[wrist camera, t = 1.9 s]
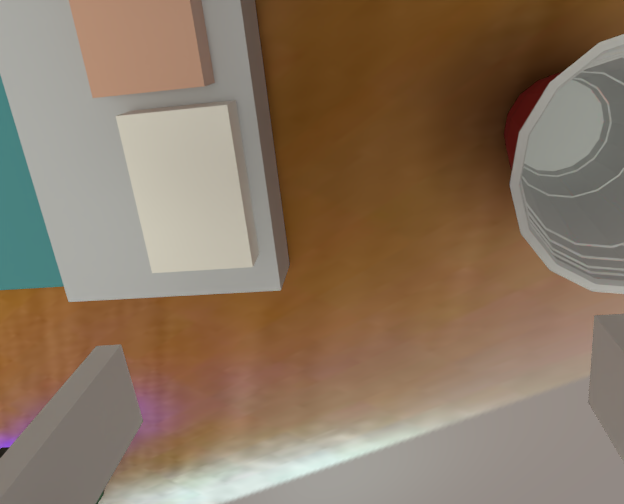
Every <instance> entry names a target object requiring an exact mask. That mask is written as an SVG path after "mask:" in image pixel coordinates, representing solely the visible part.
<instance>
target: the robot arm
mask: <svg viewBox="0 0 624 504" xmlns="http://www.w3.org/2000/svg"><path fill="white" fill-rule="evenodd" d="M588 402H589V405H590V406H591V408H592V410H593V412H594V413H595V415H596V417H597V418H598V420H599V421H600V423H601V425H602V427H603V428H604V430H605V432H606V433H607V435H608V437H609V438H610V440H611V441H612V443H613V445H614V447H615V448H616V450H617V452H618V454H619V455H620V457H621V459H622V460H623V462H624V314H612V315H596V316H594V329H593V343H592V358H591V372H590V386H589V400H588ZM142 422H143V419H142V416H141V412H140V409H139V405H138V402H137V398H136V395H135V391H134V388H133V384H132V381H131V377H130V374H129V370H128V367H127V363H126V360H125V356H124V353H123V349H122V346H121V345H106V346H96V347H95V349H94V350H93V351H92V352H91V353H90V354H89V356H88V357H87V358H86V359H85V360H84V361H83V363H82V364H81V365H80V366H79V367H78V368H77V370H76V371H75V372H74V373H73V374H72V375H71V377H70V378H69V379H68V380H67V381H66V382H65V383H64V385H63V386H62V387H61V388H60V389H59V390H58V392H57V393H56V394H55V395H54V396H53V397H52V399H51V400H50V401H49V402H48V403H47V404H46V406H45V407H44V408H43V409H42V410H41V411H40V413H39V414H38V415H37V416H36V417H35V418H34V420H33V421H32V422H31V423H30V424H29V425H28V427H27V428H26V429H25V430H24V431H23V432H22V434H21V435H20V436H19V437H18V438H17V439H16V441H15V442H14V443H13V444H12V445H11V446H10V447H9V448H1V449H0V504H96V502H97V501H98V499H99V497H100V495H101V494H102V492H103V490H104V488H105V487H106V485H107V483H108V482H109V480H110V478H111V476H112V475H113V473H114V471H115V469H116V468H117V466H118V464H119V462H120V461H121V459H122V457H123V455H124V454H125V452H126V450H127V448H128V447H129V445H130V443H131V441H132V440H133V438H134V436H135V434H136V433H137V431H138V429H139V428H140V426H141V424H142Z"/></svg>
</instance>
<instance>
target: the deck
mask: <svg viewBox="0 0 624 504" xmlns="http://www.w3.org/2000/svg"><path fill="white" fill-rule="evenodd" d="M201 1H202V7H203V13H204V19H205V25H206V31H207V38H208V44H209V50H210V56H211V62H212V68H213V74H214V80H215V83H213V84H210V85H207V86H204V87H194V88H185V89H175V90H166V91H156V92H147V93H137V94H128V95H118V96H108V97H99V98H92V93H91V89H90V85H89V81H88V77H87V73H86V69H85V65H84V61H83V57H82V53H81V49H80V44H79V40H78V36H77V32H76V28H75V24H74V20H73V16H72V12H71V8H70V4H69V0H0V75H1V78H2V82H3V85H4V88H5V92H6V95H7V98H8V102H9V105H10V108H11V112H12V115H13V118H14V122H15V125H16V128H17V132H18V135H19V138H20V142H21V145H22V148H23V152H24V155H25V158H26V162H27V165H28V168H29V172H30V175H31V178H32V182H33V185H34V188H35V192H36V195H37V198H38V202H39V205H40V208H41V212H42V215H43V218H44V222H45V225H46V228H47V232H48V235H49V238H50V242H51V245H52V248H53V252H54V255H55V258H56V262H57V265H58V268H59V272H60V275H61V278H62V282H63V285H64V288H65V292H66V295H67V298H68V302H77V301H95V300H114V299H132V298H150V297H169V296H187V295H206V294H224V293H242V292H261V291H279V290H281V289H282V286H283V283H284V280H285V277H286V274H287V271H288V268H289V265H290V263H289V256H288V248H287V241H286V233H285V225H284V218H283V210H282V203H281V195H280V187H279V180H278V172H277V165H276V157H275V149H274V142H273V134H272V127H271V119H270V111H269V104H268V96H267V88H266V81H265V73H264V66H263V58H262V50H261V43H260V35H259V28H258V20H257V12H256V5H255V0H201ZM232 100H236V104H237V110H238V117H239V123H240V130H241V136H242V143H243V150H244V156H245V163H246V169H247V176H248V182H249V189H250V196H251V202H252V209H253V215H254V222H255V228H256V235H257V242H258V248H259V256H258V258H257V260H256V262H255V264H254V266H253V267H248V268H231V269H214V270H198V271H181V272H165V273H152V271H151V266H150V262H149V258H148V253H147V249H146V245H145V241H144V236H143V232H142V228H141V223H140V219H139V215H138V211H137V206H136V202H135V198H134V193H133V189H132V185H131V180H130V176H129V172H128V168H127V163H126V159H125V155H124V150H123V146H122V142H121V138H120V133H119V129H118V125H117V120H116V116H117V115H120V114H123V113H126V112H129V111H133V110H143V109H153V108H163V107H173V106H183V105H192V104H202V103H212V102H222V101H232Z"/></svg>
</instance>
